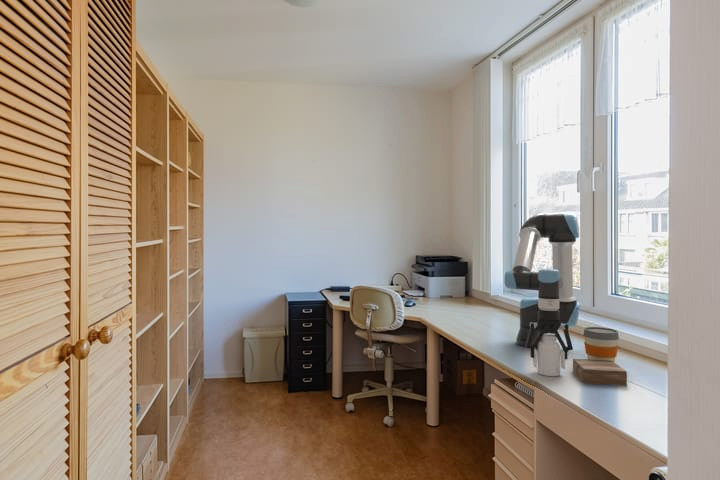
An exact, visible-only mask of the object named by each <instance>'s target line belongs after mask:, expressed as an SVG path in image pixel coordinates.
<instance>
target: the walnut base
mask: <svg viewBox="0 0 720 480" xmlns="http://www.w3.org/2000/svg"><path fill="white" fill-rule="evenodd" d="M572 372H573V373H574V375H576V376H577V377H578V378H579V379H580V380H581V382H583V383H584V384H593V385H595V384H596V385H611V386H627V385H628V371H627V370H625V368H622V367H621V366H620V365H619V364H618V363H617V362H613V361H609V360H589V359H588V358H587V359H584V358H572Z"/></svg>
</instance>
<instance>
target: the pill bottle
mask: <svg viewBox="0 0 720 480" xmlns="http://www.w3.org/2000/svg"><path fill="white" fill-rule="evenodd" d="M541 338H542V339H541V340H542V341H540V342H539V343H538V348H537V373H538V374H539V375H541V376H545V377H558V376H560V374H561V345H560V343H559V342H557V337H556V335H555V334H551V333H548V334H544V335H543V336H542V337H541Z"/></svg>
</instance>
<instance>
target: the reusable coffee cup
mask: <svg viewBox="0 0 720 480" xmlns="http://www.w3.org/2000/svg"><path fill="white" fill-rule="evenodd" d="M583 336H584V342H583V343H584V344H583V345H584V351H585V354H586V357H587V359H589V360H609V361H613V362H614V363H616V362H615V361H616V357H617V356H618V348H619V345H618V340H619V339H620V336H619V331H618V330H615V329H613V328H609V327H601V326H599V327H598V326H587V327H584V329H583Z"/></svg>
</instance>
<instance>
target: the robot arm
mask: <svg viewBox="0 0 720 480" xmlns="http://www.w3.org/2000/svg"><path fill="white" fill-rule="evenodd" d="M518 235H519V238H520V239H519V242H518V245H517V246H518V247H517V250H516V254H515V258H514V263H513V267H512V270H507V271H506V272H505V273H504V286H505V287H506V289H512V290H522V291H524V290H525V291H526V290H527V291H538V296H533V297H532V296H531V297H525V298H522V299H521V300H520V301H519V330H518V333H517V334H516V340H515V341H516V344H517V345H518V346H521V347H526V348H527V349H529V350H530V352H529V353H530V358H532V360H533V362H532V365H533V367H534V368H538V343H539V342H540V341H542V340H541V339H542V338H541V337H542V336H543V335H544V334H553V335H556V340H557V341H558V344H559V345H560V347H561V348H562V349H560V369H562V370H565V369H566V368H565V367H566V363H565V362H566V361H565V360H568V352H569V351H573V350H574V347H573V344H572V340H571V336H570V332H569V327H570V328H571V327H573V328H574V327H576V326H577V325H578V321H579V315H580V309H581V303H580V302H579V301H577V297H575V296H574V286H573V285H574V284H573V281H574V277H573V271H574V270H573V245H574V244H575V243H576V242H577V239H579V238H580V228H579V223H578V218H577V215H576V214H575V213H573V212H552V213H550V212H548V213H537V214H534V215H533V216H531V217H529V218H528V219H527V220H526V221H525V222H524V223H523V224H522V226H521V227H520V230H519V233H518ZM545 238H546V239H548V243H550V245H551V250H552V251H551V253H552V254H551V255H552V258H551V259H552V263H551V264H552V268H540V269H539V270H538V271H537V272H536V271H532V269H533V263H534V259H535V254H536V251H537V245H538V243H539V241H540V240H541V239H545ZM560 327H561V329H562V331H563V335H564V338H565V342H566V344H565V342H564V340H563V339H562V337H561V335H560V333H559V331H558V330H559V329H560ZM536 348H537V349H536Z"/></svg>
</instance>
